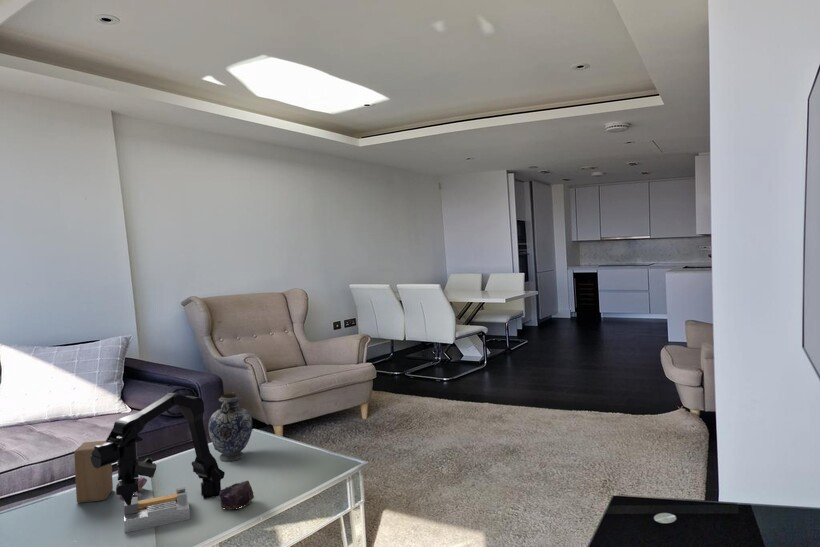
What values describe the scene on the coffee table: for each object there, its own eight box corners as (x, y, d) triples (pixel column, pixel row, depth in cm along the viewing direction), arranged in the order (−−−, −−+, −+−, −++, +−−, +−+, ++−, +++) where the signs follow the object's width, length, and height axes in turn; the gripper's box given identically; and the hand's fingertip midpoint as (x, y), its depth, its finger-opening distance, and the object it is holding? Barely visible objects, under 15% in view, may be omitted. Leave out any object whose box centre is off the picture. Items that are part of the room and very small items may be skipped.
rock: (221, 508, 202) (225, 519, 193) (216, 485, 202) (220, 495, 192) (253, 496, 207) (258, 506, 198) (248, 474, 207) (254, 483, 198)
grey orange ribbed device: (187, 502, 204) (186, 485, 204) (189, 519, 192) (189, 500, 191) (125, 514, 196) (125, 496, 196) (124, 532, 183) (123, 513, 183)
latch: (137, 505, 194) (137, 496, 194) (137, 512, 189) (137, 503, 188) (125, 507, 192) (124, 499, 192) (124, 515, 187) (124, 506, 187)
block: (85, 492, 215) (83, 441, 214) (113, 489, 217) (111, 439, 216) (75, 504, 205) (73, 450, 204) (105, 501, 207) (102, 448, 206)
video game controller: (127, 503, 208) (134, 487, 207) (117, 497, 209) (124, 481, 208) (144, 492, 218) (151, 476, 217) (135, 486, 219) (141, 471, 218)
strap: (183, 495, 200) (183, 491, 200) (183, 499, 198) (183, 495, 198) (125, 507, 192) (124, 503, 192) (124, 510, 190) (124, 506, 190)
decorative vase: (215, 449, 258) (214, 389, 257) (256, 447, 260) (255, 388, 259) (203, 467, 237) (202, 402, 236) (248, 465, 239) (247, 401, 238)
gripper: (154, 462, 177) (156, 511, 177) (153, 444, 194) (155, 488, 194) (115, 469, 172) (117, 518, 173) (117, 450, 189) (119, 495, 190)
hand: (129, 504), depth 182 cm, fingers closed
